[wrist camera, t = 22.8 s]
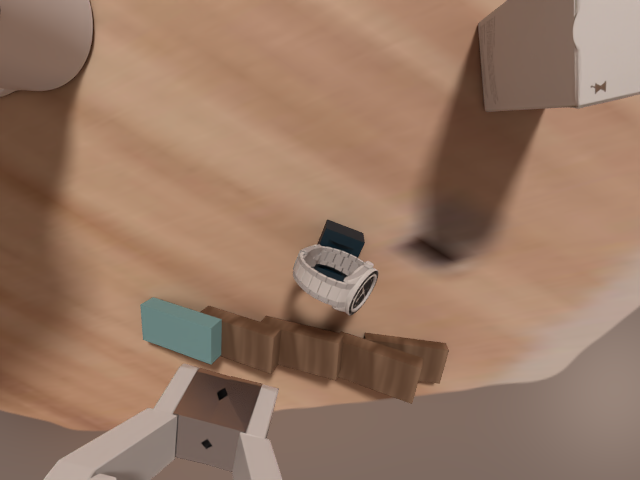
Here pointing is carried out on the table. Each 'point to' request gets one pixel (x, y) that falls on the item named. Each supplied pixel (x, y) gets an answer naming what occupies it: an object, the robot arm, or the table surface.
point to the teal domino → (181, 330)
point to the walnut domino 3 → (380, 367)
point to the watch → (336, 269)
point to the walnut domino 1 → (248, 340)
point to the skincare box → (559, 53)
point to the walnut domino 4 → (418, 353)
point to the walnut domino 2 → (309, 348)
